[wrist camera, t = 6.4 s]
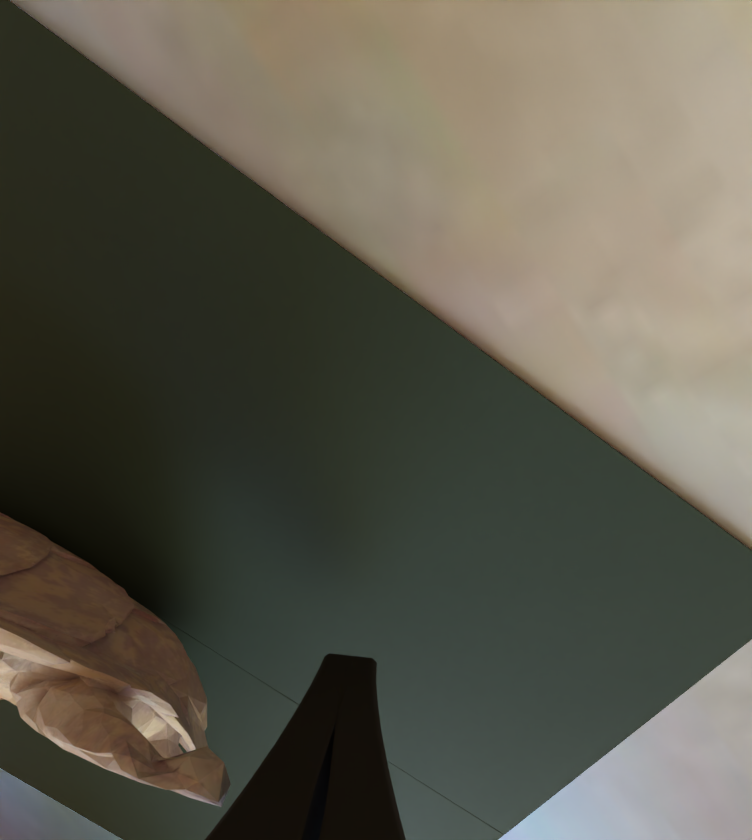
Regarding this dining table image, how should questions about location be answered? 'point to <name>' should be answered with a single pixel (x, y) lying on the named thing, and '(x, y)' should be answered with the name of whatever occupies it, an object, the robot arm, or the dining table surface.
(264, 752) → the play mat
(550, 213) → the dining table surface
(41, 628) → the beige animal figurine
